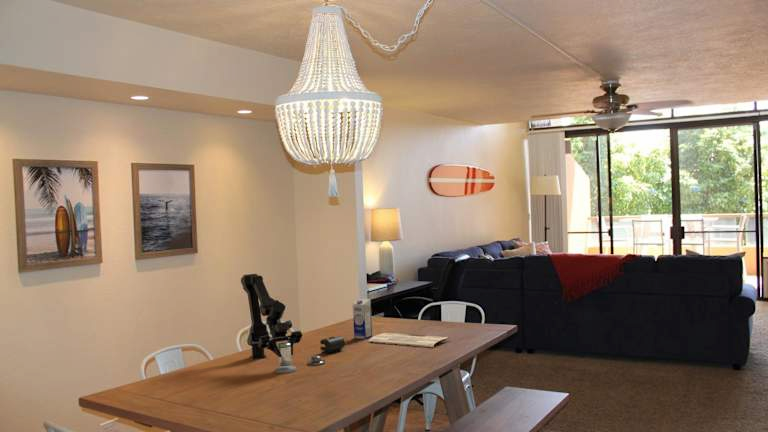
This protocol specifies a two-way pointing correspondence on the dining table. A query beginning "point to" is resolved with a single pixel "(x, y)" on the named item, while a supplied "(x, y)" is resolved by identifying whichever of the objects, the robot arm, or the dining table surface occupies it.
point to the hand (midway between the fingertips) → (286, 355)
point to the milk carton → (362, 319)
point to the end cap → (332, 344)
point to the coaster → (285, 369)
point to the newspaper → (408, 339)
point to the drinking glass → (285, 354)
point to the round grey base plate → (316, 361)
